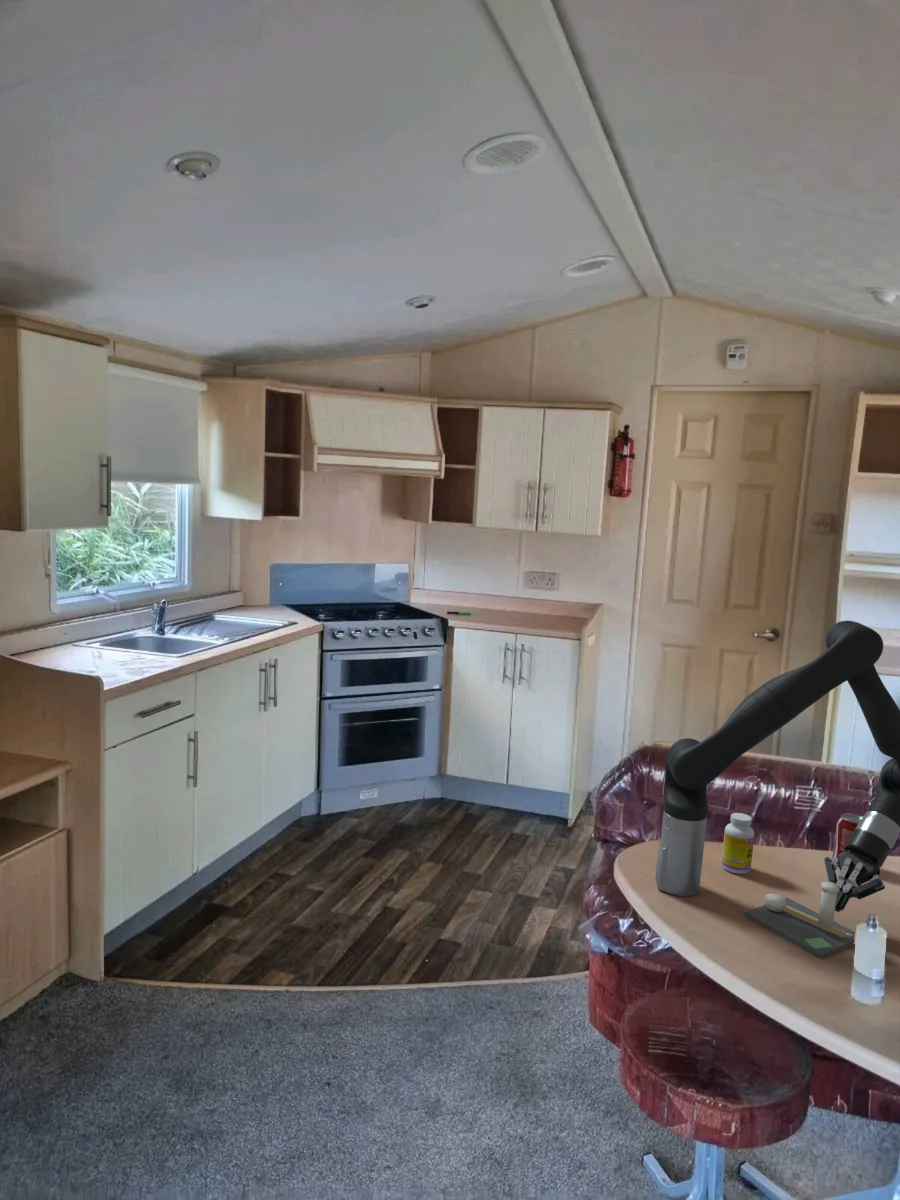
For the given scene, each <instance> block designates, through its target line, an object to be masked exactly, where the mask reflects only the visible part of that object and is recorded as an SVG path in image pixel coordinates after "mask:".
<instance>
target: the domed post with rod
mask: <svg viewBox="0 0 900 1200" xmlns="http://www.w3.org/2000/svg"><path fill="white" fill-rule="evenodd" d="M839 888H840V887H839V886H838V885H837V884H835V883H832V882H829V881H828V880H827V881H826V880H825V881H821V883H820V889H821V895H820V903H819V911H818V914H819V917H818V919H817V918H814V917H812V916H810V915H808V914H805V913H803V912H801V911H799V910H796V909H794V908H792V907H790V906H787V905H785V901H786V900H785V898H786V897H784V896H782V895H781V894H780V895H779V894H777V893H767V894H765V896H764V897H765V898H764V905H763V906H765V907H766V908H767V909H769V910H772V911H776V912H782V911H785V912H787V913H789V914H791V915H794V916H796V917H798V918H800V919H803V920H805V921H807V922H809V923H811V924H814V925H816V926H818V927H820V928H823V929H825V930H827V931H829V932H831V933H834V934H836V935H838V936H840V937H845V936H846V931H844V930H842V929H839V928H837V927H835V926H833V921H834V922H835V914H836V913H835V912H836V911H835V906H836V898H837V893H838V892H839Z"/></svg>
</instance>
